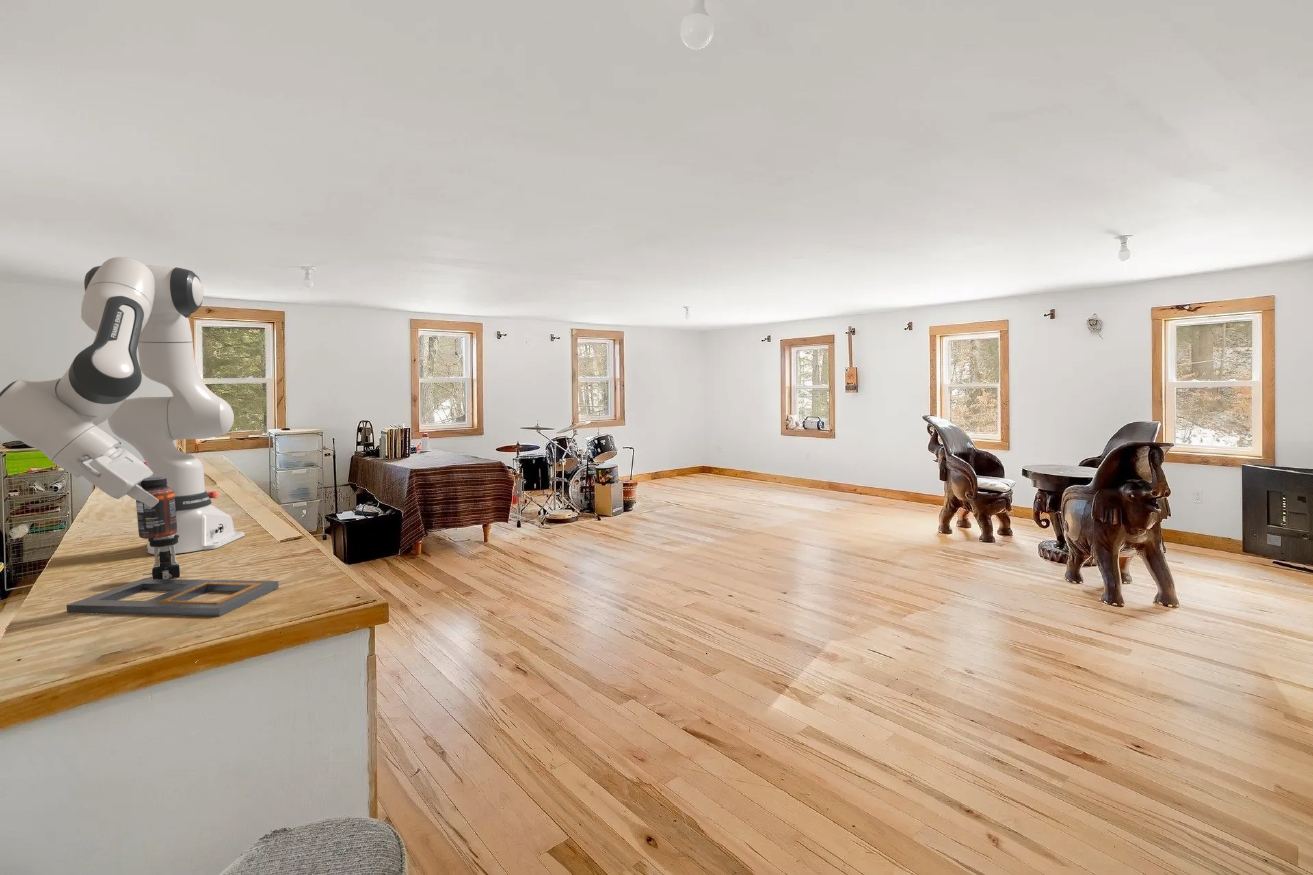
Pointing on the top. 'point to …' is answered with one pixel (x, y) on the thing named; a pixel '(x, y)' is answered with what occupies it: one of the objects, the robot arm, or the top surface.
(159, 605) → the grey rectangular frame
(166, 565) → the push button
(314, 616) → the top surface
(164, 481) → the supplement bottle
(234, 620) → the top surface
